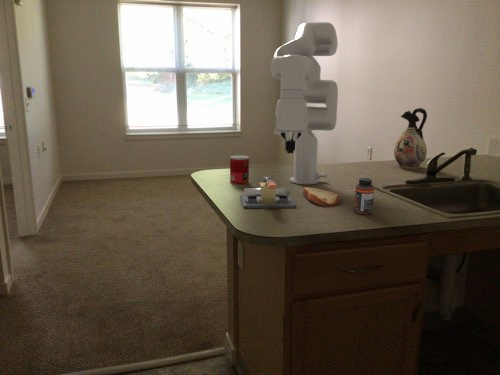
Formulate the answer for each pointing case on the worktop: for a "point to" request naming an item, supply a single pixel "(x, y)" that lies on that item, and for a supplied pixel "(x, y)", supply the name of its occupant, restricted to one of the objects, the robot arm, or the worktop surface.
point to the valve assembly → (267, 197)
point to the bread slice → (321, 197)
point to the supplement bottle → (364, 196)
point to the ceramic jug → (411, 142)
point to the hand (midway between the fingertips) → (289, 152)
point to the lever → (269, 182)
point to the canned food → (239, 169)
